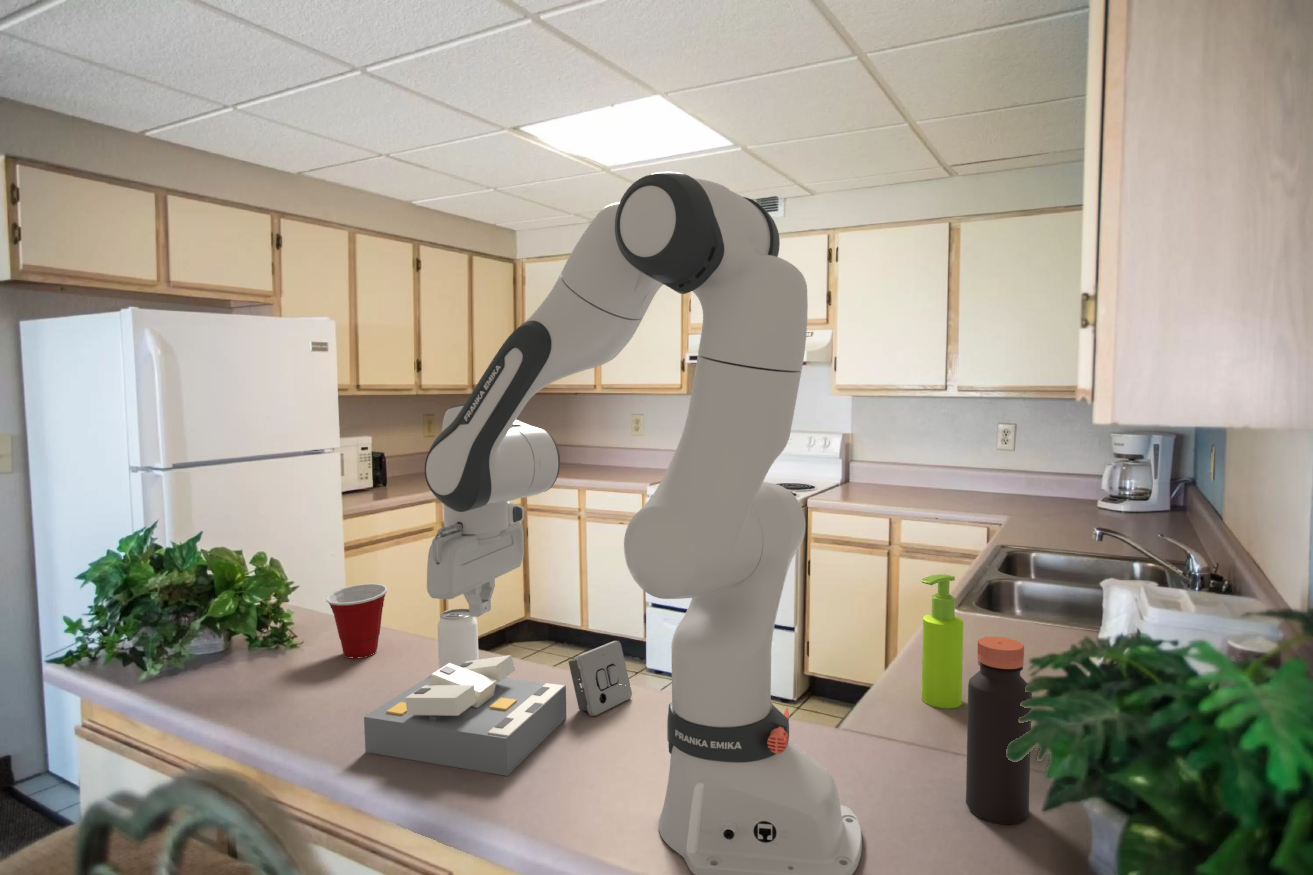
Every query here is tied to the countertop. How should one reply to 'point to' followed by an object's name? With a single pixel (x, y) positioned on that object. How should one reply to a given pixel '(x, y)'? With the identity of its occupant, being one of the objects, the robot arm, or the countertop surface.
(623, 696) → the electrical switch
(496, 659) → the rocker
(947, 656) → the soap dispenser
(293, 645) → the countertop surface
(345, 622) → the plastic cup
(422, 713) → the rocker
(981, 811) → the bottle
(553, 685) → the switch unit
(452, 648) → the can
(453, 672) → the rocker
